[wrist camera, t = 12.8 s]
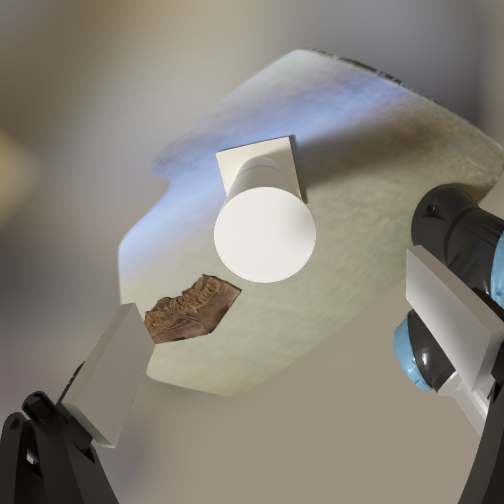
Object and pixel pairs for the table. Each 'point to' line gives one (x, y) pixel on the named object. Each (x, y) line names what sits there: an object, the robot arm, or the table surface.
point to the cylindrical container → (264, 224)
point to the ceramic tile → (270, 149)
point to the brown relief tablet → (191, 311)
